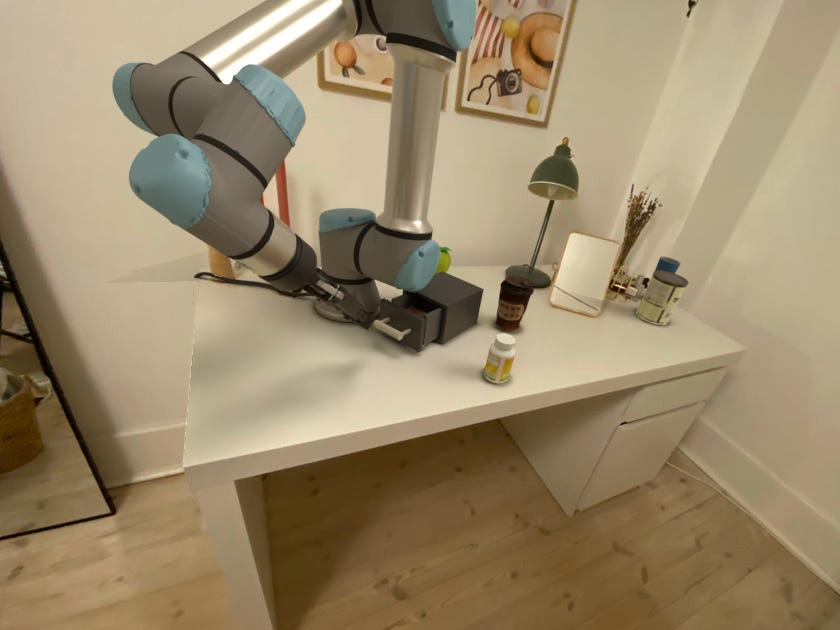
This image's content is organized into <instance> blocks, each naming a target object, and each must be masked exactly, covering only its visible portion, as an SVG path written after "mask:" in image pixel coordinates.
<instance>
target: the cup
mask: <svg viewBox="0 0 840 630" xmlns="http://www.w3.org/2000/svg"><path fill="white" fill-rule="evenodd" d="M680 265H681V262H680V261H679V260H677V259H675V258H672V257H669V256H659V259H658V261H657V263H656V265H655V266H656V267H655V269H654V271H657V270H661V271H667V272H671V273H674V274H677V271H678V269H679V267H680Z"/></svg>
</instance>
